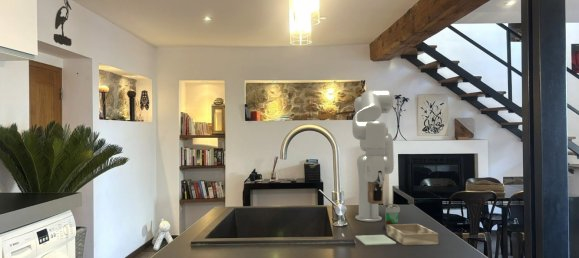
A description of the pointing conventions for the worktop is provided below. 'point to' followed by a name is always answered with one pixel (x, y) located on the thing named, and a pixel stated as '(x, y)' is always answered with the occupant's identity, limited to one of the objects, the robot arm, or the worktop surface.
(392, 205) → the food container
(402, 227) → the access box
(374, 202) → the walnut block
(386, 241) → the mat
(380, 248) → the worktop surface
